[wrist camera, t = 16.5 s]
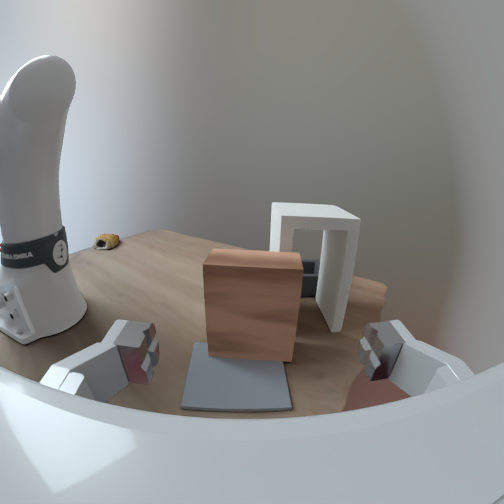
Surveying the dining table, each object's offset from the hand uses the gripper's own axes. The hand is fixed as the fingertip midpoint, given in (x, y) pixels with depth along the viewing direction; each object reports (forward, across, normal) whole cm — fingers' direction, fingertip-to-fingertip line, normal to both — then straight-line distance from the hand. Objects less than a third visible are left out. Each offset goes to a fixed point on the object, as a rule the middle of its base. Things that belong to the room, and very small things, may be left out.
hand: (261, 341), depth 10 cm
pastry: (+61, -40, -17) cm, 75 cm away
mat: (+14, -1, -16) cm, 22 cm away
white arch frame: (+27, +9, -16) cm, 33 cm away
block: (+19, +1, -16) cm, 25 cm away
